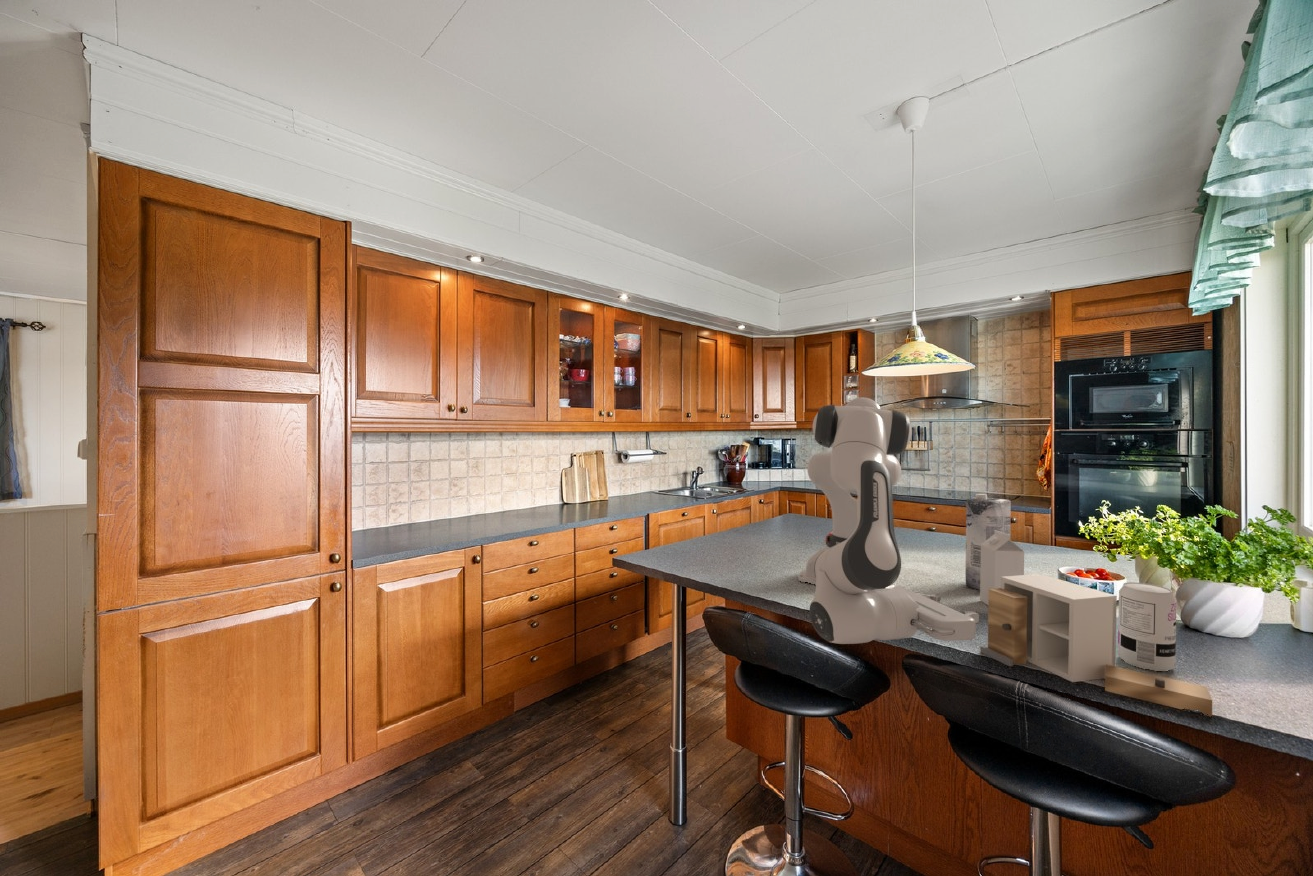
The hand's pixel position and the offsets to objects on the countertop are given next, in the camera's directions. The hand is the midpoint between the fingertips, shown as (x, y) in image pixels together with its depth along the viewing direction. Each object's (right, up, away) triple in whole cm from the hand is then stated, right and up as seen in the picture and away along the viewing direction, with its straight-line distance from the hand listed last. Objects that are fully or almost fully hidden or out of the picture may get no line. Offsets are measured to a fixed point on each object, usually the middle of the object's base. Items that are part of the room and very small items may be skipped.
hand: (956, 607), depth 104 cm
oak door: (+12, -11, +3) cm, 16 cm away
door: (+27, -12, -13) cm, 32 cm away
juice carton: (+37, -10, +49) cm, 62 cm away
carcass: (+17, -11, 0) cm, 20 cm away
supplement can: (+37, -11, 0) cm, 39 cm away
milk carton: (+31, -11, +34) cm, 47 cm away
